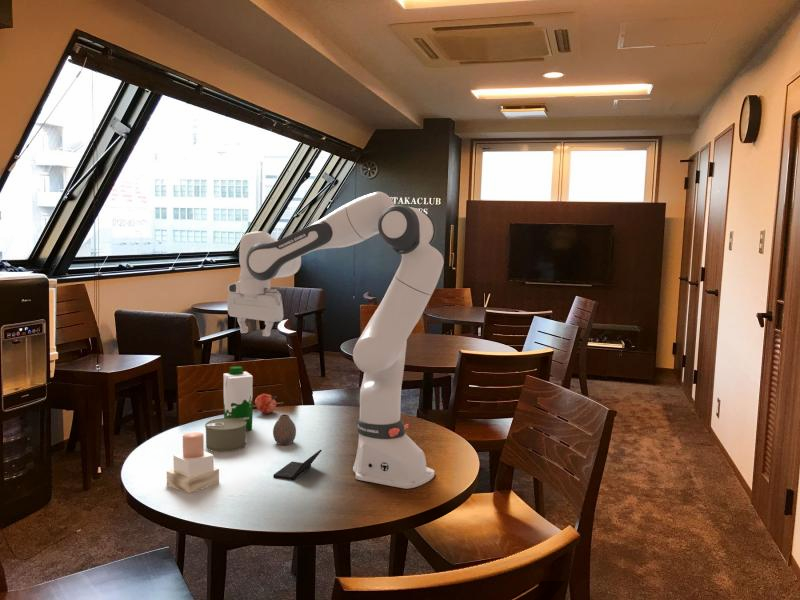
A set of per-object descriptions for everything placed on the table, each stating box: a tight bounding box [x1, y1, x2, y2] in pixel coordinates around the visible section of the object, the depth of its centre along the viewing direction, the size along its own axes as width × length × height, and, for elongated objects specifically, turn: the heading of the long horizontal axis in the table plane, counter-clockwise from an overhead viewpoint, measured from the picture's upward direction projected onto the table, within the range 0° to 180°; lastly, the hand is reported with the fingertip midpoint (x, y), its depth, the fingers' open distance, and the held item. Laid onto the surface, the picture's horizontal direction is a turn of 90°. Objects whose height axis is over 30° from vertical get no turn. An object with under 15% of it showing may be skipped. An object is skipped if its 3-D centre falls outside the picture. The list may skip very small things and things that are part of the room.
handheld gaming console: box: [272, 449, 322, 481], centre depth 169 cm, size 12×7×10 cm
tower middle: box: [173, 450, 215, 478], centre depth 160 cm, size 7×7×4 cm
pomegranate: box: [254, 393, 277, 415], centre depth 224 cm, size 7×7×10 cm
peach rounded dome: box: [182, 431, 205, 458], centre depth 159 cm, size 5×5×5 cm
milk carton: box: [223, 365, 254, 432], centre depth 205 cm, size 9×9×20 cm
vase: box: [272, 413, 297, 446], centre depth 192 cm, size 7×7×9 cm
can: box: [204, 417, 247, 453], centre depth 189 cm, size 12×12×7 cm
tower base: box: [166, 466, 220, 495], centre depth 160 cm, size 9×9×4 cm
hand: (255, 334), depth 185 cm, fingers open, 8 cm apart
